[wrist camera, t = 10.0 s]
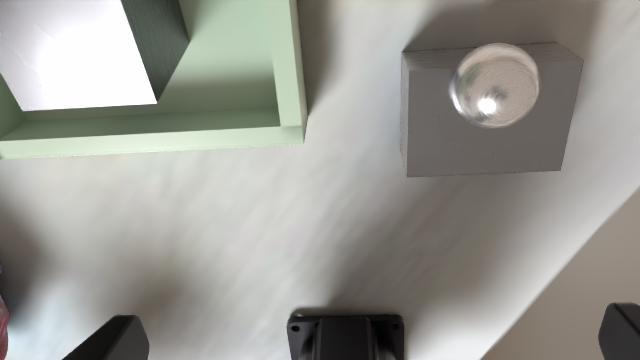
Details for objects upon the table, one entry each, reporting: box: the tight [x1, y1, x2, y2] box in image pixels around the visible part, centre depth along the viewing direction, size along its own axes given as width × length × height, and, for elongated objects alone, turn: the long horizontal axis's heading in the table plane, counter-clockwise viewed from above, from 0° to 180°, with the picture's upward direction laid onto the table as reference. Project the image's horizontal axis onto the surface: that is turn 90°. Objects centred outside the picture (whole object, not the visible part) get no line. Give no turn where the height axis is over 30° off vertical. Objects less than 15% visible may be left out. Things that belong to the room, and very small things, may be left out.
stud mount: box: [401, 42, 584, 177], centre depth 18 cm, size 5×6×4 cm
